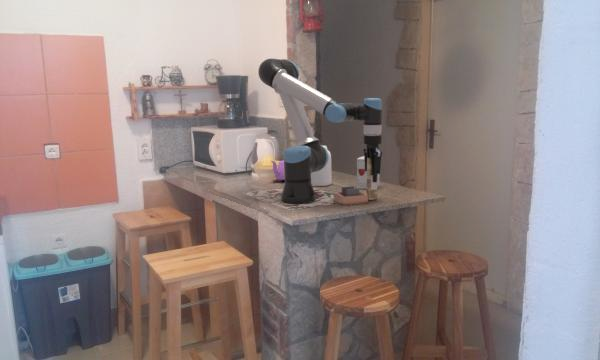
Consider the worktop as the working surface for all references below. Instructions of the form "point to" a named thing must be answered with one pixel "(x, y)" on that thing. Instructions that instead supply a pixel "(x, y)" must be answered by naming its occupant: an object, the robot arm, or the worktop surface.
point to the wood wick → (371, 193)
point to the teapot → (279, 170)
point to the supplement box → (362, 174)
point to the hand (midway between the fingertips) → (372, 188)
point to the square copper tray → (350, 196)
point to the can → (323, 174)
